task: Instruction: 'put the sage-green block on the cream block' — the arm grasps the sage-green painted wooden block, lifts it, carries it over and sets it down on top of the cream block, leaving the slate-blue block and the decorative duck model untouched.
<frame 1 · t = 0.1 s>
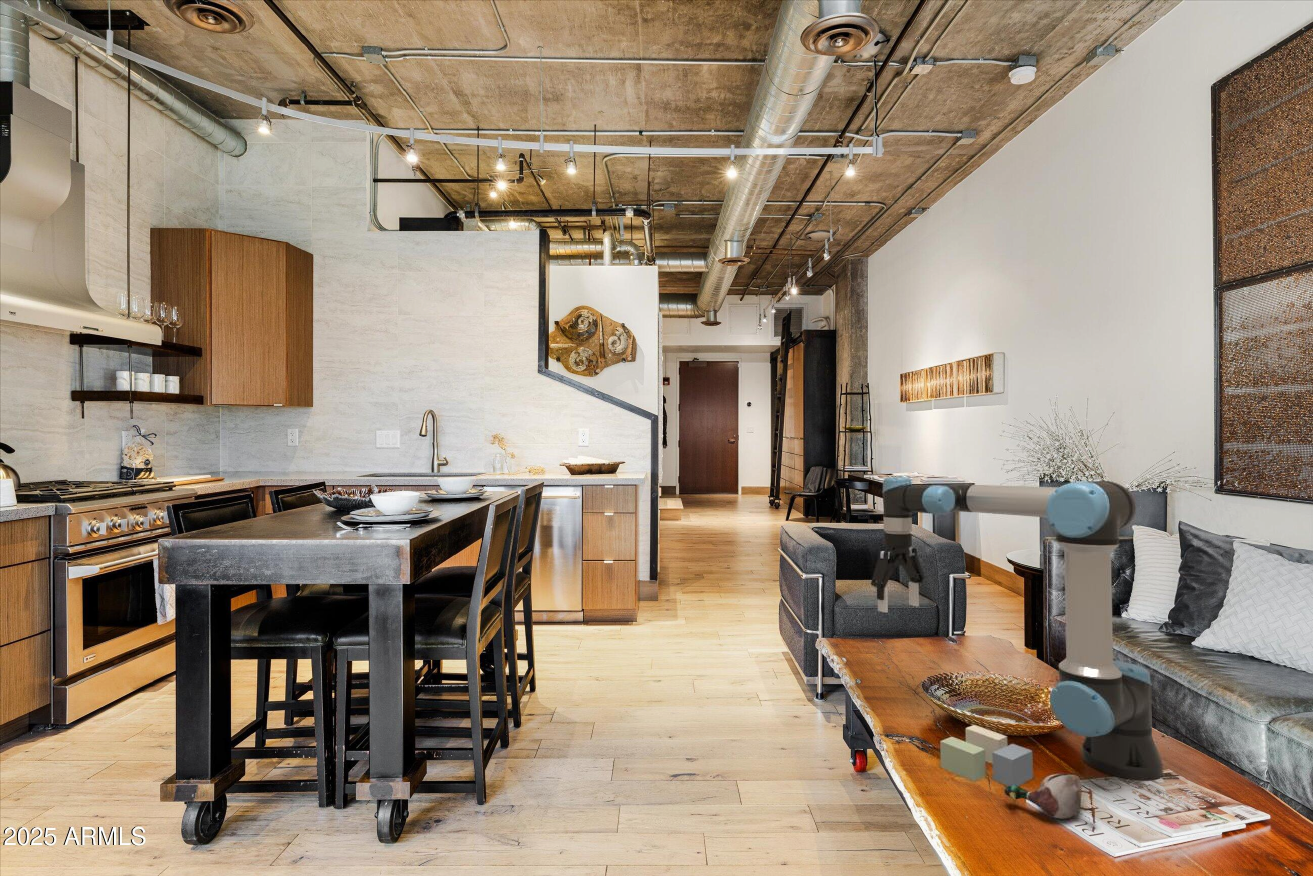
hand: (898, 608, 187), 28 cm above the table, fingers open, 13 cm apart
cream block: (986, 758, 156), on the table
slate block: (1013, 779, 146), on the table
decorative duck model: (1051, 810, 133), on the table
sage block: (962, 772, 149), on the table
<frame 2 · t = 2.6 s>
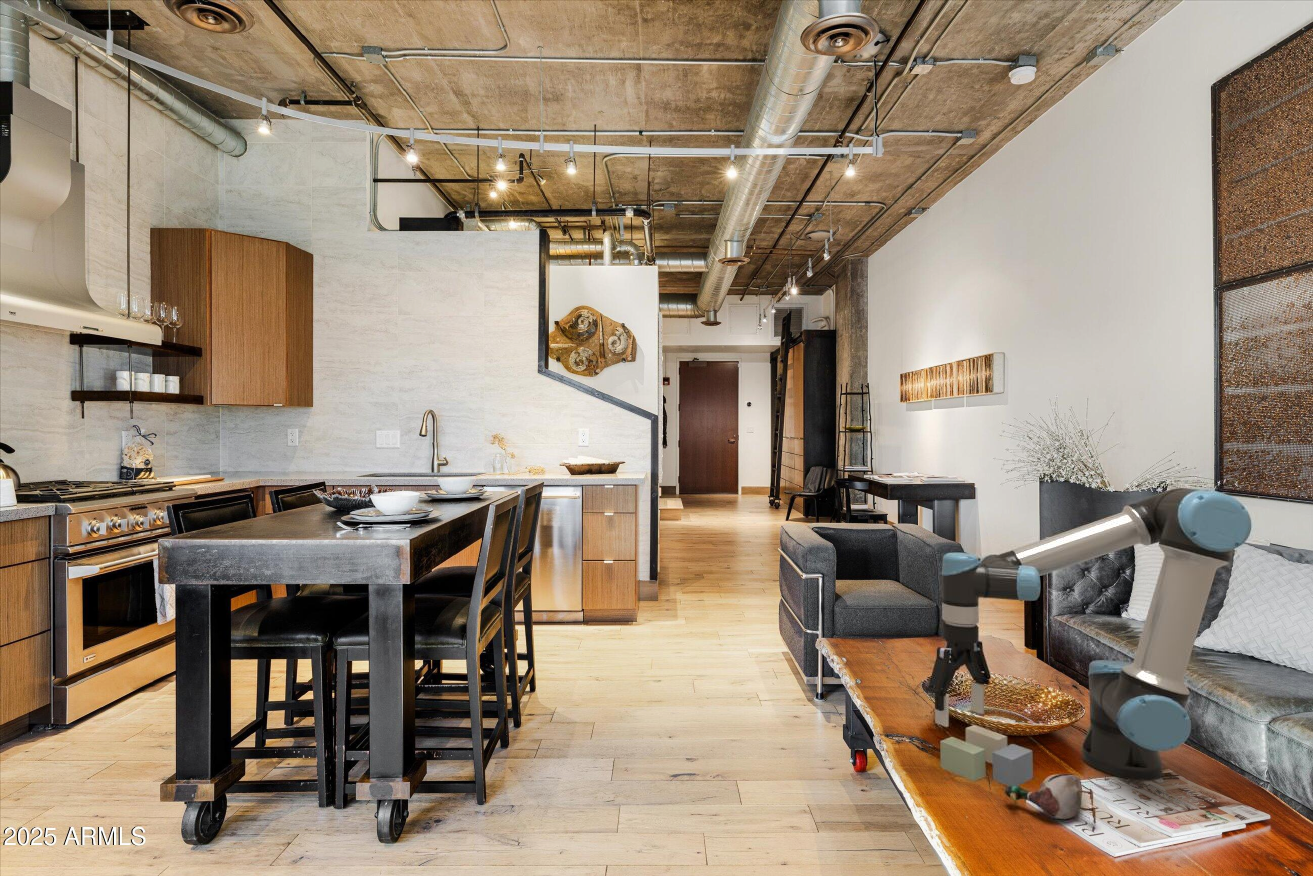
hand: (960, 718, 150), 12 cm above the table, fingers open, 13 cm apart
nothing on the table moved.
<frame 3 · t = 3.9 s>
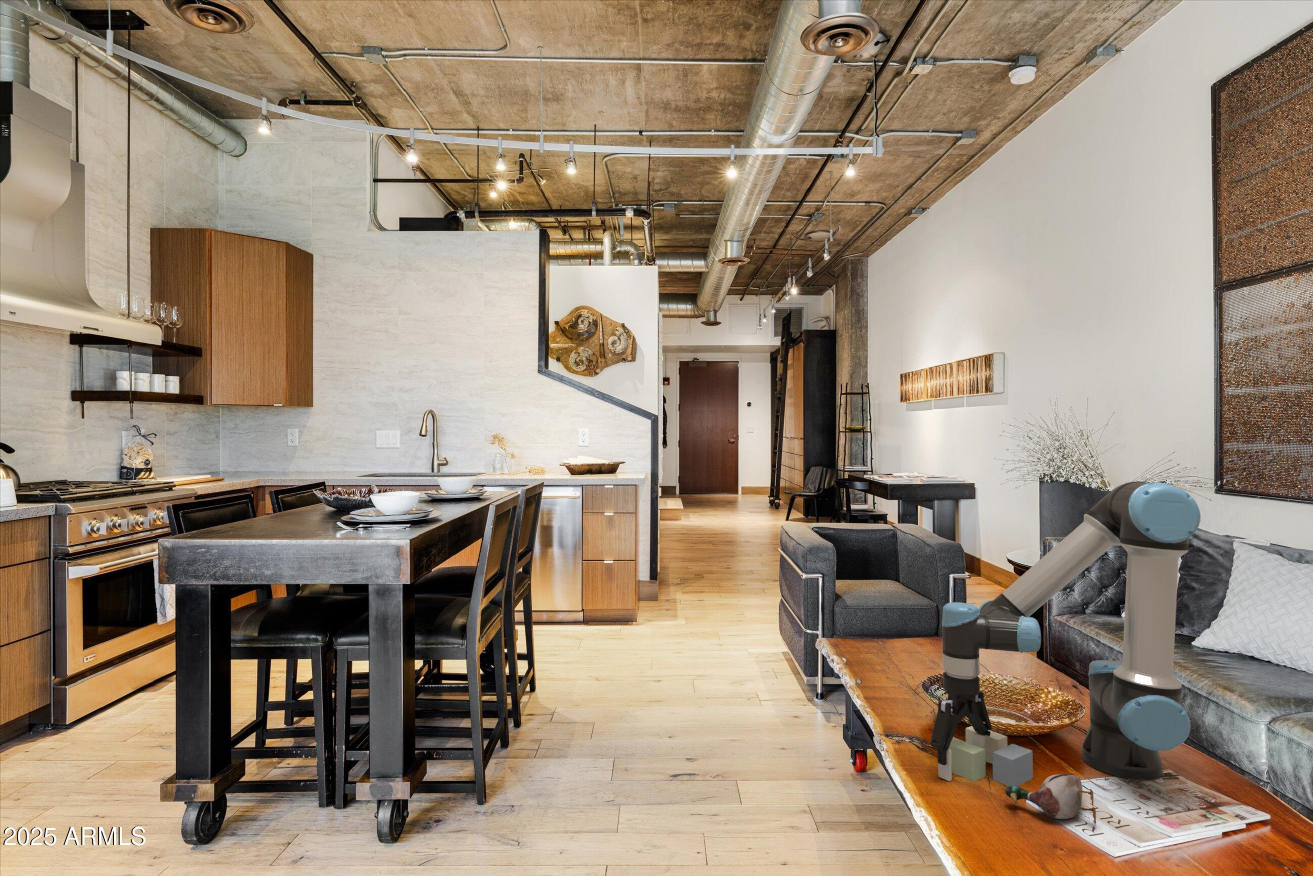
hand: (962, 771, 149), 0 cm above the table, fingers open, 12 cm apart
nothing on the table moved.
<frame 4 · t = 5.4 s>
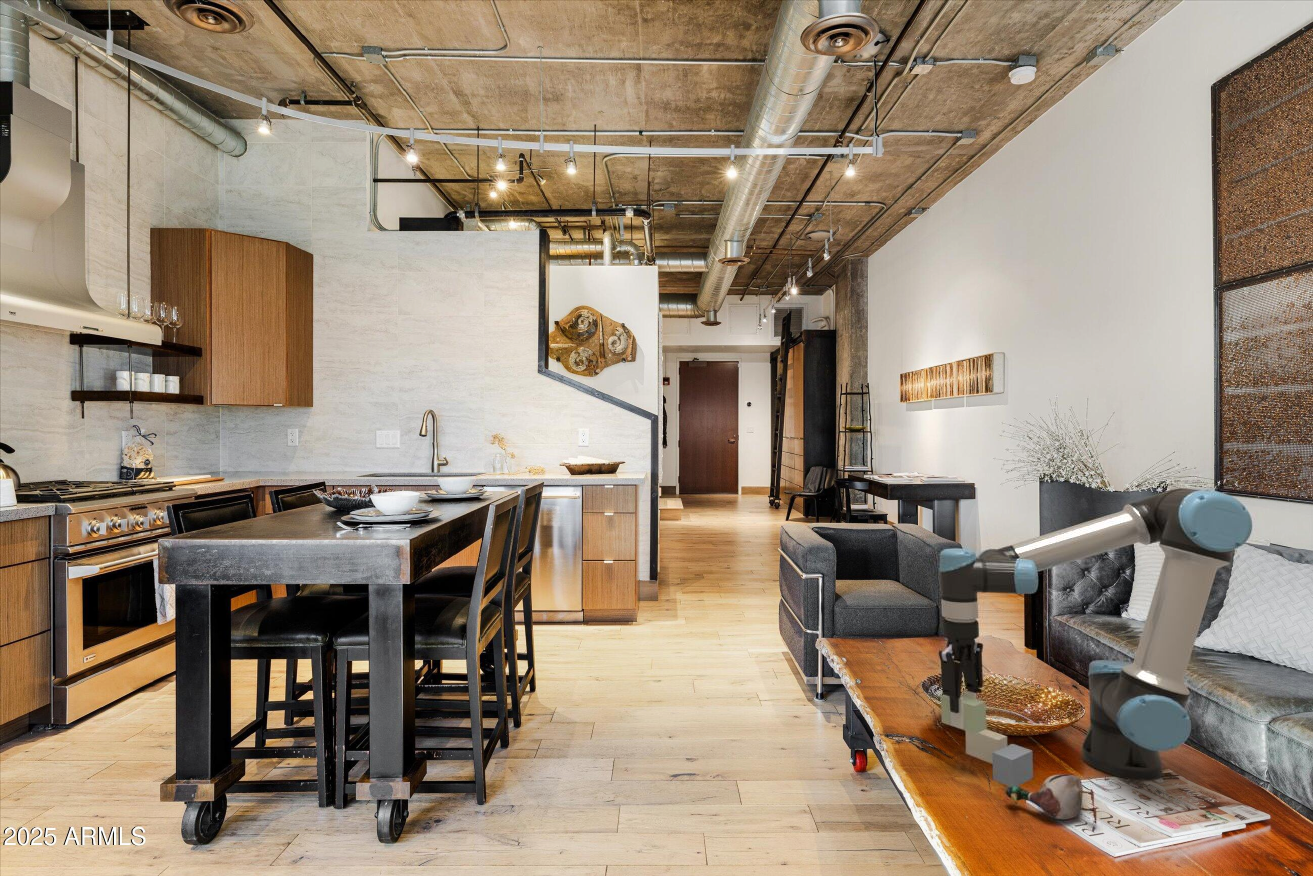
hand: (964, 723, 150), 11 cm above the table, fingers closed on sage block, 4 cm apart
sage block: (963, 725, 150), point 10 cm above the table, touching gripper
everything else where it was.
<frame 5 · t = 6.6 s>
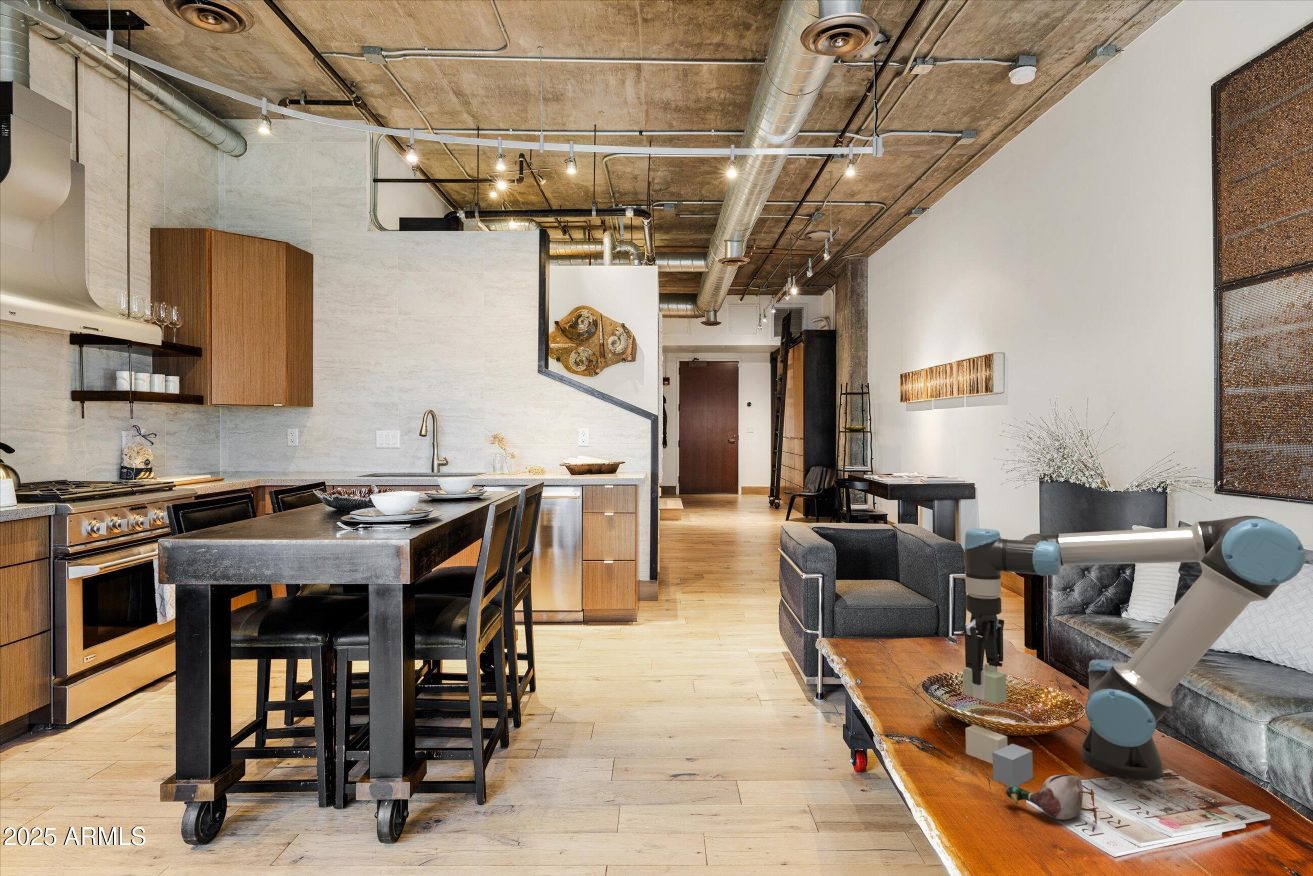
hand: (985, 695, 157), 14 cm above the table, fingers closed on sage block, 4 cm apart
sage block: (984, 697, 157), point 14 cm above the table, touching gripper
everything else where it was.
when the fingers open (6 cm above the table, at t = 8.3 s): sage block stays where it is, resting on cream block.
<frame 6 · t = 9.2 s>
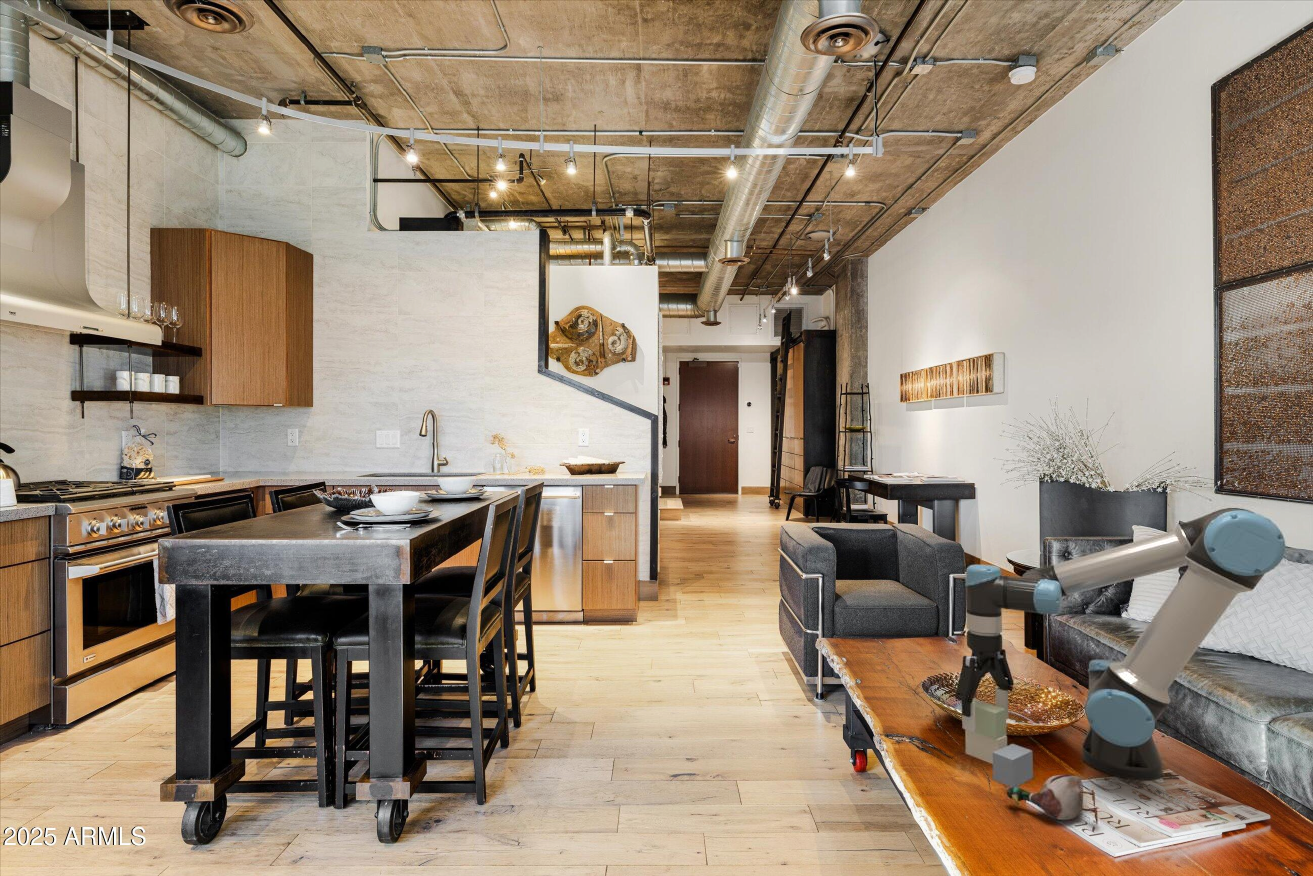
hand: (985, 723, 156), 8 cm above the table, fingers open, 13 cm apart
cream block: (986, 758, 156), on the table, touching sage block
sage block: (984, 731, 157), point 6 cm above the table, touching cream block
everything else where it was.
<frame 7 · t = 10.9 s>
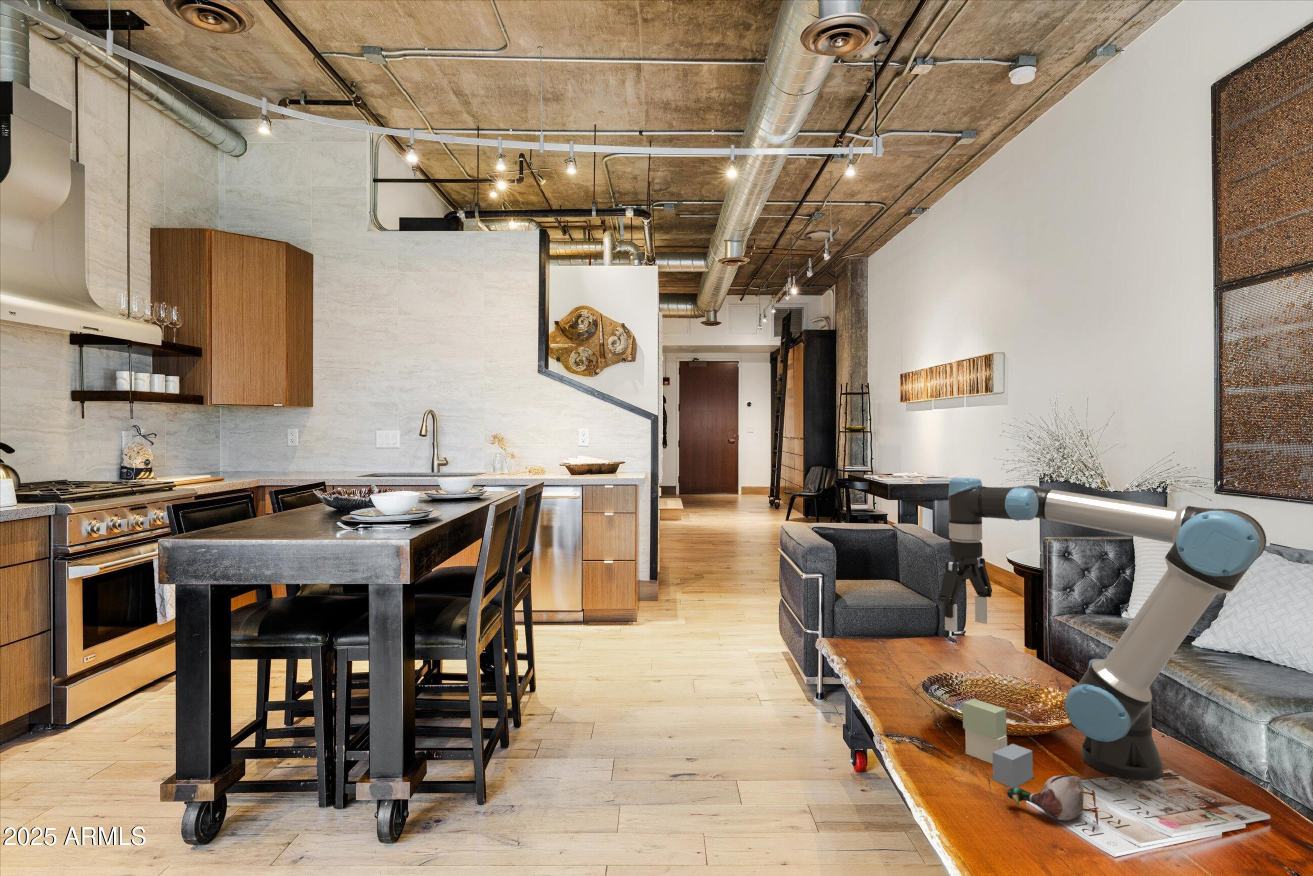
hand: (966, 626, 165), 28 cm above the table, fingers open, 13 cm apart
nothing on the table moved.
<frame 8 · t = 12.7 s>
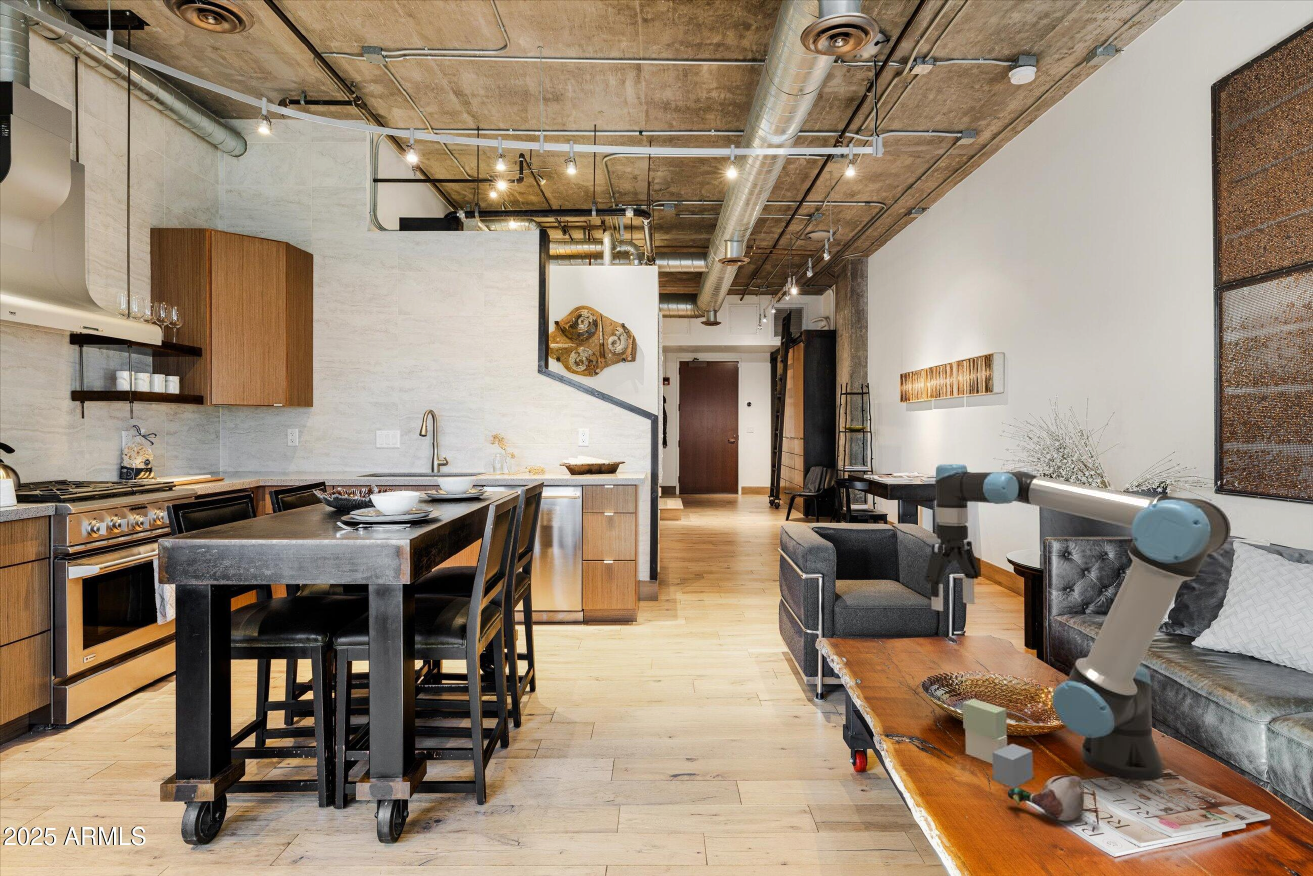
hand: (953, 606, 172), 32 cm above the table, fingers open, 13 cm apart
nothing on the table moved.
at the end: sage block 0.3 cm off-centre on the cream block, point 6.0 cm above the cream block's base; slate block moved 0.1 cm from its start; sage block tilted 0° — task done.
